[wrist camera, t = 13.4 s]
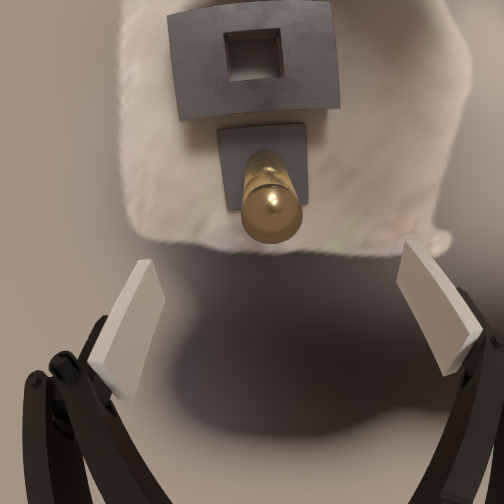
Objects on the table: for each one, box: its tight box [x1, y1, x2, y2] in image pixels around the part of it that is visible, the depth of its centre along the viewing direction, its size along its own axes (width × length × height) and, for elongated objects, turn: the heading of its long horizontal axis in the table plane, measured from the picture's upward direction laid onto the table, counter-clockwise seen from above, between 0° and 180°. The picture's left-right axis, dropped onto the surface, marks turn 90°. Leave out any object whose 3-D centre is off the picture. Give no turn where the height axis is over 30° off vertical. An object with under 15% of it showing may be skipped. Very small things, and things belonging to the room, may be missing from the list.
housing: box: [167, 0, 341, 121], centre depth 24 cm, size 12×16×5 cm
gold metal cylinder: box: [241, 149, 303, 244], centre depth 26 cm, size 4×4×14 cm
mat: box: [217, 123, 308, 210], centre depth 33 cm, size 10×10×1 cm
